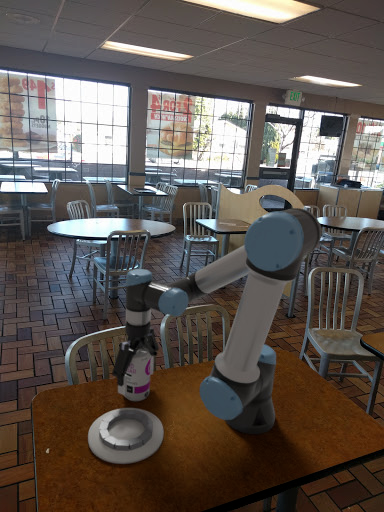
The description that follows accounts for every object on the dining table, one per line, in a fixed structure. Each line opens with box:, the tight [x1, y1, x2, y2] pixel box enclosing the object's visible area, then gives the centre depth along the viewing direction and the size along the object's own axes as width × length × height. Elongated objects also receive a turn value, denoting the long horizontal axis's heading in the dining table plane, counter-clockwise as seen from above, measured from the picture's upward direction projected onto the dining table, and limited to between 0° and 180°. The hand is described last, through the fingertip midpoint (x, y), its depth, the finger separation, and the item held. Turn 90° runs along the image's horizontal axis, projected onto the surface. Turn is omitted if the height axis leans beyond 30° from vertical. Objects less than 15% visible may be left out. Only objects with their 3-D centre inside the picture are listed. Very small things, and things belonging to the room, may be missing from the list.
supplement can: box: [123, 347, 151, 402], centre depth 121 cm, size 8×8×15 cm
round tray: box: [87, 407, 164, 465], centre depth 105 cm, size 20×20×3 cm
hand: (136, 382), depth 122 cm, fingers open, 13 cm apart
